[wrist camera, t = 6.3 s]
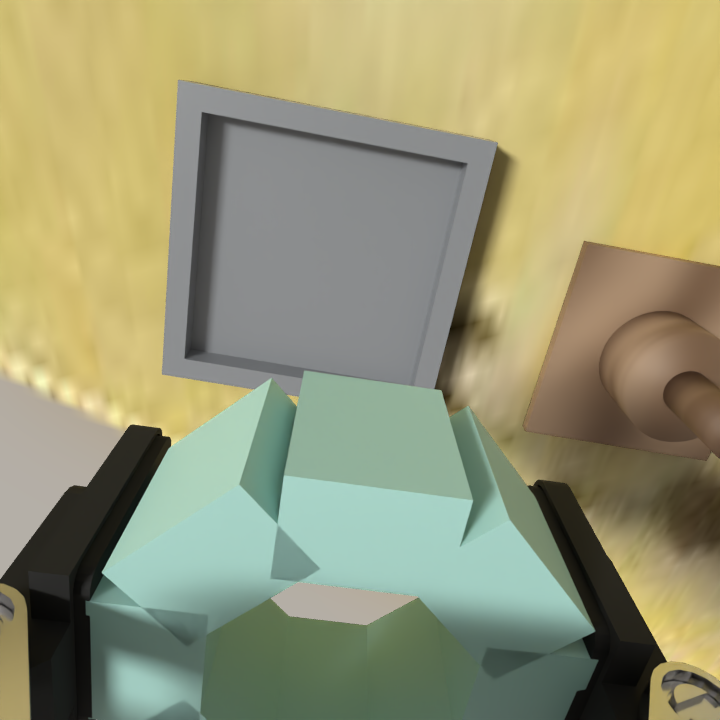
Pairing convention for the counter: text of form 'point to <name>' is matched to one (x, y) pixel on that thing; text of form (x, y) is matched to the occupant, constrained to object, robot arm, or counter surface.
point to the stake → (634, 355)
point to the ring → (337, 570)
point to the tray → (314, 241)
